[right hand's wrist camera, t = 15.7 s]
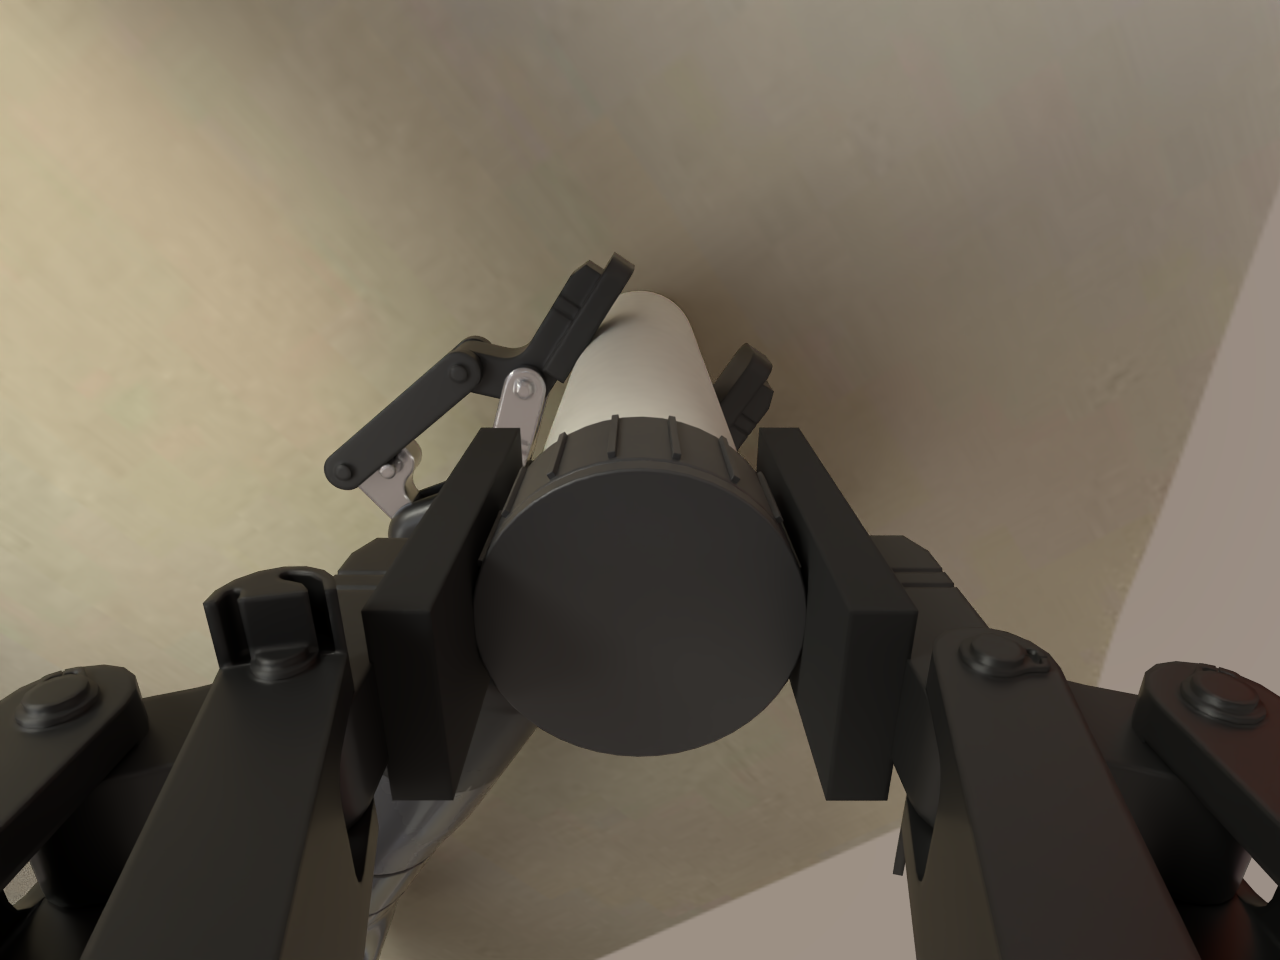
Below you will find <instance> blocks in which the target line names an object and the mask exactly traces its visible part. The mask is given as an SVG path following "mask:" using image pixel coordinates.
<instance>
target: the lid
mask: <svg viewBox="0 0 1280 960" xmlns="http://www.w3.org/2000/svg"><path fill="white" fill-rule="evenodd" d="M783 521H784V520H783V518H782V516H781V513H780V511H779V509H778V506H777V504H776V502H775V499H774V497H773V495H772V493H771V490H770V488H769V486H768V483H767V481H766V479H765V476H764V475H763V473H762V472H761V471H760V472H758V473H756V472H755V470H754V469H753V468H752V467H751V466H750V464H749V463H748V462H747V461H746V460H745V459H744V458H743V457H742V456H741V455H740V454H739V453H738V452H736V451H735V450H734V449H733V448H732V447H731V446H729V444H728V441H727V438H725V437H724V436H722V435H721V436H720V438H717V437H716V436H714V435H712V434H710V433H708V432H706V431H704V430H702V429H700V428H697V427H694V426H691V425H688V424H685V423H682V422H679V421H676V417H675V416H669V417H668V419H664V418H655V417H622V418H619V415H618V414H616V415H612V417H611V420H605V421H601V422H598V423H595V424H592V425H588V426H585V427H583V428H581V429H579V430H576V431H574V432H572V433H570V434H568V435H567V434H566V433H565V432H563V433H561V434H559V437H558V440H557V442H555V443H553V444H552V445H551V446H550V447H548V448H547V449H546V450H545V451H544V452H542V453H541V454H540V455H539V456H538V457H537V458H536V459H535V460H534V461H533V462H532V463H531V464H530V465H529V467H528V468H526V467H525V466H522V468H521V469H520V470H519V473H518V475H517V477H516V480H515V482H514V484H513V487H512V489H511V492H510V494H509V496H508V499H507V501H506V503H505V506H504V508H503V510H499V512H498V515H497V517H496V519H495V522H494V524H493V526H492V529H491V531H490V533H489V535H488V538H487V540H486V542H485V545H484V547H483V549H482V552H481V554H480V556H479V558H478V566H479V567H480V570H479V573H478V576H477V579H476V583H475V588H474V595H473V616H474V626H475V636H476V644H477V647H478V651H479V654H480V657H481V660H482V662H483V664H484V666H485V668H486V670H487V672H488V674H489V676H490V678H491V679H492V681H493V682H494V684H495V685H496V687H497V688H498V690H499V691H500V693H501V694H502V695H503V696H504V697H505V698H506V699H507V701H508V702H509V703H510V704H511V705H512V706H513V707H514V708H515V709H516V710H517V711H518V712H520V713H521V714H522V715H523V716H524V717H525V718H526V719H528V720H529V721H530V722H532V723H533V724H535V725H536V726H538V727H539V728H541V729H542V730H544V731H546V732H547V733H549V734H551V735H553V736H555V737H557V738H559V739H561V740H563V741H566V742H568V743H571V744H573V745H576V746H578V747H582V748H585V749H589V750H592V751H596V752H601V753H607V754H613V755H620V756H636V757H640V756H660V755H667V754H674V753H679V752H683V751H687V750H691V749H695V748H698V747H701V746H704V745H707V744H709V743H712V742H715V741H717V740H719V739H721V738H723V737H725V736H727V735H729V734H731V733H733V732H734V731H736V730H738V729H739V728H741V727H742V726H744V725H745V724H747V723H748V722H750V721H751V720H752V719H753V718H754V717H756V716H757V715H758V714H759V713H760V712H762V711H763V710H764V709H765V708H766V707H767V706H768V705H769V704H770V703H771V702H772V700H773V699H774V698H775V697H776V696H777V695H778V694H779V692H780V691H781V689H782V688H783V687H784V685H785V684H786V682H787V681H788V679H789V677H790V676H791V674H792V672H793V670H794V668H795V666H796V664H797V662H798V659H799V656H800V653H801V650H802V648H803V641H804V632H805V622H806V611H807V595H806V587H805V584H804V580H803V576H802V573H801V568H802V567H801V564H800V562H799V560H798V557H797V555H796V553H795V550H794V548H793V545H792V543H791V541H790V538H789V536H788V534H787V531H786V529H785V527H784V524H783Z"/></svg>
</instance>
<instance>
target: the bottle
mask: <svg viewBox="0 0 1280 960" xmlns="http://www.w3.org/2000/svg"><path fill="white" fill-rule="evenodd" d="M616 414H618V415H619V418H622V417H655V418H664V419H668V417H669V416H675V417H676V421H679V422H682V423H685V424H688V425H691V426H694V427H697V428H700V429H702V430H704V431H706V432H708V433H710V434H712V435H714V436H716V437H717V438H720V436H721V435H722V436H724V437H725V438H727V441H728V444H729V446H731V447H732V448H733V449H734V450H735V451H736V452H737V450H736V447H735V445H734V442H733V439H732V436H731V434H730V431H729V428H728V426H727V423H726V420H725V417H724V415H723V412H722V409H721V407H720V404H719V401H718V398H717V396H716V393H715V390H714V387H713V385H712V382H711V379H710V377H709V374H708V371H707V368H706V366H705V363H704V360H703V358H702V355H701V352H700V349H699V347H698V344H697V341H696V338H695V336H694V333H693V330H692V328H691V325H690V323H689V321H688V319H687V317H686V316H685V314H684V313H683V311H682V310H681V309H680V308H679V307H678V306H677V305H676V304H675V303H674V302H672V301H671V300H669V299H668V298H666V297H664V296H662V295H660V294H657V293H654V292H649V291H631V292H626V293H623V294H620V295H619V296H618V298H617V299H616V301H615V303H614V304H613V306H612V307H611V309H610V310H609V312H608V314H607V315H606V317H605V318H604V320H603V321H602V323H601V325H600V326H599V328H598V329H597V331H596V333H595V334H594V336H593V337H592V339H591V340H590V342H589V344H588V345H587V347H586V348H585V350H584V351H583V353H582V354H581V355H580V357H579V358H578V360H577V361H576V364H575V366H574V367H573V370H572V373H571V375H570V378H569V381H568V384H567V386H566V389H565V392H564V395H563V397H562V400H561V403H560V406H559V408H558V411H557V414H556V416H555V419H554V422H553V425H552V427H551V430H550V433H549V436H548V438H547V441H546V444H545V447H544V449H543V452H544V451H545V450H546V449H547V448H548V447H550V446H551V445H552V444H553V443H555V442H557V440H558V437H559V434H561V433H563V432H565V433H566V434H567V435H568V434H570V433H572V432H574V431H576V430H579V429H581V428H583V427H585V426H588V425H592V424H595V423H598V422H601V421H605V420H611V417H612V415H616Z"/></svg>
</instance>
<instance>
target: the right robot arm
mask: <svg viewBox="0 0 1280 960" xmlns="http://www.w3.org/2000/svg"><path fill="white" fill-rule="evenodd" d="M522 466H523V463H522V447H521V432H520V428H481V429H480V430H479V432H478V433H477V435H476V436H475V438H474V439H473V441H472V442H471V444H470V445H469V447H468V448H467V450H466V451H465V453H464V455H463V456H462V458H461V459H460V461H459V462H458V464H457V465H456V467H455V468H454V470H453V471H452V473H451V474H450V476H449V477H448V479H447V480H446V482H445V483H444V485H443V487H442V488H441V490H440V491H439V493H438V494H437V496H436V497H435V499H434V500H433V502H432V503H431V505H430V506H429V508H428V509H427V511H426V512H425V514H424V516H423V517H422V519H421V520H420V522H419V523H418V525H417V526H416V528H415V529H414V531H413V532H412V534H411V535H410V537H409V538H376V539H374V540H373V541H371V542H370V543H368V544H366V545H365V546H363V547H361V548H360V549H358V550H356V551H355V552H353V553H352V554H351V555H350V556H349V558H348V559H347V560H346V561H345V563H344V564H343V565H342V566H341V568H340V569H339V570H338V575H334V577H333V576H332V575H330V574H329V573H328V572H326V571H325V570H321V569H317V568H312V567H307V566H297V567H280V568H274V569H269V570H263V571H258V572H255V573H253V574H250V575H247V576H244V577H241V578H238V579H235V580H233V581H232V582H230V583H228V584H226V585H224V586H223V587H221V588H219V589H217V590H216V591H214V592H213V593H212V595H211V596H210V597H209V598H208V599H207V600H206V601H205V602H204V603H203V606H204V610H205V614H206V617H207V621H208V625H209V629H210V633H211V637H212V641H213V644H214V648H215V652H216V656H217V660H218V664H219V668H220V669H219V671H218V673H217V675H216V677H215V680H214V682H213V684H210V685H206V686H202V687H198V688H193V689H188V690H183V691H177V692H172V693H167V694H162V695H157V696H151V697H146V698H142V696H141V693H140V689H139V686H138V683H137V680H136V677H135V675H134V674H132V673H131V672H130V671H128V670H127V669H126V668H124V667H118V666H111V665H96V666H86V667H75V668H70V669H65V671H63V672H62V671H58V672H55V673H52V674H49V675H46V676H44V677H43V678H41V679H40V680H37V681H35V682H33V683H30V684H28V685H26V686H24V687H21V688H19V689H18V690H16V691H15V692H13V693H12V694H10V695H8V696H7V697H5V698H4V699H2V700H1V701H0V960H364V952H365V944H366V935H367V926H368V917H369V909H370V900H371V891H372V883H373V874H374V865H375V856H376V848H377V839H378V830H379V825H378V819H377V812H376V807H375V801H374V794H375V792H376V789H377V787H378V785H379V782H380V780H381V778H382V776H383V773H384V771H385V769H386V766H387V772H388V778H389V784H390V790H391V796H392V801H426V800H454V797H455V794H456V790H457V787H458V784H459V780H460V777H461V774H462V771H463V767H464V764H465V761H466V757H467V754H468V751H469V747H470V744H471V741H472V738H473V734H474V731H475V728H476V724H477V721H478V718H479V714H480V711H481V708H482V705H483V701H484V698H485V695H486V691H487V688H488V685H489V681H490V676H489V674H488V672H487V670H486V668H485V666H484V664H483V662H482V660H481V657H480V654H479V651H478V647H477V644H476V636H475V626H474V616H473V595H474V588H475V583H476V579H477V576H478V573H479V570H480V567H479V566H478V558H479V556H480V554H481V552H482V549H483V547H484V545H485V542H486V540H487V538H488V535H489V533H490V531H491V529H492V526H493V524H494V522H495V519H496V517H497V515H498V512H499V510H503V508H504V506H505V503H506V501H507V499H508V496H509V494H510V492H511V489H512V487H513V484H514V482H515V480H516V477H517V475H518V473H519V470H520V469H521V468H522ZM760 471H761V472H762V473H763V475H764V476H765V479H766V481H767V483H768V486H769V488H770V490H771V493H772V495H773V497H774V499H775V502H776V504H777V506H778V509H779V511H780V513H781V516H782V518H783V520H784V521H783V524H784V527H785V529H786V531H787V534H788V536H789V538H790V541H791V543H792V545H793V548H794V550H795V553H796V555H797V557H798V560H799V562H800V564H801V567H802V568H801V573H802V576H803V580H804V584H805V587H806V595H807V611H806V622H805V632H804V641H803V648H802V650H801V653H800V656H799V659H798V662H797V664H796V666H795V668H794V670H793V672H792V674H791V676H790V677H789V679H790V683H791V686H792V689H793V693H794V696H795V699H796V703H797V706H798V709H799V713H800V716H801V719H802V722H803V726H804V729H805V732H806V736H807V739H808V742H809V746H810V749H811V752H812V755H813V759H814V762H815V765H816V769H817V772H818V775H819V779H820V782H821V785H822V788H823V792H824V795H825V798H826V801H887V799H888V793H889V787H890V781H891V775H892V769H893V764H894V766H895V768H896V771H897V773H898V775H899V777H900V780H901V782H902V784H903V787H904V789H905V791H906V793H907V795H906V801H905V807H904V812H903V818H902V824H901V829H900V835H899V840H898V846H897V852H896V857H895V863H894V870H893V874H896V875H901V876H902V875H903V871H904V866H905V863H906V872H907V881H908V889H909V898H910V907H911V915H912V924H913V933H914V942H915V950H916V959H917V960H1280V697H1279V696H1278V695H1276V694H1275V693H1273V692H1271V691H1270V690H1268V689H1267V688H1265V687H1264V686H1262V685H1260V684H1258V683H1256V682H1254V681H1251V680H1249V679H1247V678H1244V677H1242V676H1240V675H1239V674H1237V673H1236V672H1233V671H1230V670H1227V669H1224V668H1221V667H1219V668H1216V666H1213V665H1208V664H1203V663H1189V662H1179V661H1175V662H1167V663H1160V664H1156V665H1154V666H1153V667H1152V668H1150V669H1149V670H1148V671H1146V672H1145V675H1144V678H1143V681H1142V685H1141V688H1140V691H1139V694H1138V695H1135V694H1130V693H1125V692H1119V691H1114V690H1109V689H1104V688H1099V687H1093V686H1088V685H1083V684H1079V683H1075V682H1071V681H1067V680H1066V678H1065V676H1064V674H1063V672H1062V670H1061V668H1060V667H1059V665H1058V664H1057V663H1056V662H1055V660H1054V659H1053V658H1052V657H1051V656H1050V654H1049V653H1047V652H1046V651H1044V650H1043V649H1041V648H1040V647H1038V646H1037V645H1035V644H1034V643H1032V642H1031V641H1028V640H1026V639H1023V638H1021V637H1018V636H1016V635H1014V634H1011V633H1009V632H1005V631H1000V630H995V629H991V628H989V627H988V626H987V625H986V623H985V622H984V621H983V620H982V618H981V617H980V616H979V615H978V613H977V612H976V611H975V610H974V608H973V607H972V606H971V604H970V603H969V602H968V601H967V599H966V598H965V597H964V596H963V594H962V593H961V592H960V591H959V589H958V588H957V587H954V583H953V582H952V580H951V579H950V578H949V577H948V575H947V574H946V573H945V572H942V568H941V566H940V565H939V564H938V563H937V561H936V560H935V559H934V558H933V556H932V555H931V554H930V553H929V551H928V550H926V549H924V548H923V547H921V546H919V545H918V544H916V543H914V542H913V541H911V540H909V539H908V538H906V537H904V536H869V535H868V533H867V531H866V530H865V528H864V527H863V525H862V524H861V522H860V521H859V519H858V518H857V516H856V515H855V513H854V512H853V510H852V509H851V507H850V506H849V504H848V502H847V501H846V499H845V498H844V496H843V495H842V493H841V492H840V490H839V489H838V487H837V486H836V484H835V483H834V481H833V480H832V478H831V477H830V475H829V473H828V472H827V470H826V469H825V467H824V466H823V464H822V463H821V461H820V460H819V458H818V457H817V455H816V454H815V452H814V451H813V449H812V448H811V446H810V445H809V443H808V441H807V440H806V438H805V437H804V435H803V434H802V432H801V431H800V429H799V428H759V441H758V456H757V472H756V473H758V472H760ZM1251 858H1253V859H1254V860H1255V861H1256V862H1257V863H1258V864H1259V865H1260V866H1261V868H1262V869H1263V870H1264V871H1265V872H1266V873H1267V874H1268V875H1269V876H1270V877H1271V878H1272V879H1273V881H1274V882H1275V883H1276V884H1277V885H1278V887H1277V889H1276V891H1275V894H1274V896H1273V898H1272V900H1271V901H1270V902H1269V903H1267V902H1266V901H1264V900H1263V899H1262V898H1261V897H1260V896H1259V895H1258V894H1257V893H1255V891H1254V890H1253V889H1252V888H1251V887H1250V886H1249V885H1248V883H1247V882H1246V881H1245V880H1244V879H1243V877H1244V874H1245V872H1246V869H1247V867H1248V865H1249V862H1250V860H1251ZM28 862H30V864H31V866H32V869H33V871H34V873H35V876H36V878H37V880H38V882H37V883H36V884H35V885H34V886H33V887H32V888H31V890H30V891H29V892H28V893H27V894H26V895H25V896H24V897H23V898H22V899H20V900H19V901H18V902H17V903H16V904H14V905H11V904H10V903H9V902H8V899H7V897H6V895H5V893H4V891H3V889H4V888H5V887H6V886H7V885H8V884H9V882H10V881H11V880H12V879H13V878H14V877H15V876H16V875H17V874H18V873H19V871H20V870H21V869H22V868H23V867H24V866H25V865H26V864H27V863H28Z"/></svg>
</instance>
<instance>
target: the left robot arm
mask: <svg viewBox="0 0 1280 960" xmlns="http://www.w3.org/2000/svg"><path fill="white" fill-rule="evenodd" d="M633 271H634V265H633V264H632V263H630V262H629V261H627V260H626V259H624V258H623V257H621V256H620V255H618V254H617V253H616V252H614V254H613V255H612V257H611V259H610V260H609V262H608V263H607V265H606V267H605V268H604V269H602V268H601V267H599V266H598V265H596V264H595V263H593V262H592V261H591V260H589V261H587V262H586V263H584V264H583V265H582V266H580V267H579V268H578V269H576V270H575V271H574V272H573V274H572V275H571V276H570V278H569V279H568V281H567V283H566V284H565V286H564V288H563V289H562V291H561V293H560V294H559V296H558V298H557V299H556V301H555V303H554V304H553V306H552V308H551V309H550V311H549V312H548V314H547V316H546V317H545V319H544V321H543V322H542V324H541V326H540V327H539V329H538V331H537V332H536V334H535V336H534V337H533V339H532V341H531V342H530V343H528V344H527V345H525V346H523V347H520V348H506V347H502V346H498V345H494V344H491V343H490V342H489V341H488V340H487V339H485V338H483V337H480V336H470V337H467V338H466V339H464V340H463V341H462V342H461V343H459V344H458V345H457V346H456V347H455V348H454V349H453V350H451V351H450V352H449V353H448V354H447V355H446V356H444V357H443V358H442V359H441V360H440V361H439V362H438V363H436V364H435V365H434V366H433V367H432V368H431V369H430V370H428V371H427V372H426V373H425V374H424V375H423V376H421V377H420V378H419V379H418V380H417V381H416V382H415V383H413V384H412V385H411V386H410V387H409V388H408V389H407V390H405V391H404V392H403V393H402V394H401V395H400V396H398V397H397V398H396V399H395V400H394V401H393V402H392V403H390V404H389V405H388V406H387V407H386V408H385V409H384V410H382V411H381V412H380V413H379V414H378V415H377V416H375V417H374V418H373V419H372V420H371V421H370V422H369V423H367V424H366V425H365V426H364V427H363V428H362V429H361V430H359V431H358V432H357V433H356V434H355V435H354V436H352V437H351V438H350V439H349V440H348V441H347V442H346V443H344V444H343V445H342V446H341V447H340V448H339V449H338V450H336V451H335V452H334V453H333V454H332V455H331V456H330V457H329V458H328V459H327V460H326V462H325V465H324V472H325V475H326V478H327V479H328V481H329V482H330V483H331V484H332V485H334V486H335V487H337V488H339V489H343V490H352V489H355V488H357V487H359V488H360V489H361V490H362V491H363V492H364V493H365V494H366V495H367V496H368V497H369V498H370V499H371V500H372V501H373V502H374V503H375V504H376V505H378V506H379V507H380V508H381V509H382V510H383V511H384V512H385V513H386V514H387V515H388V516H389V517H390V518H391V519H392V520H391V522H390V525H389V530H388V537H389V538H409V537H410V535H411V534H412V532H413V531H414V529H415V528H416V526H417V525H418V523H419V522H420V520H421V519H422V517H423V516H424V514H425V512H426V511H427V509H428V508H429V506H430V505H431V503H432V502H433V500H434V499H435V497H436V496H437V494H438V493H439V491H440V490H441V488H442V487H443V485H444V483H445V482H446V481H444V482H442V483H439V484H436V485H433V486H431V487H428V488H425V489H422V490H420V491H418V489H417V488H416V487H415V485H414V482H413V473H414V470H415V469H416V468H417V466H418V465H419V464H420V462H421V459H422V451H421V448H420V446H419V444H418V443H417V442H416V441H415V440H414V439H416V438H417V437H418V436H419V435H420V434H421V433H423V432H424V431H425V430H426V429H427V428H429V427H430V426H431V425H432V424H433V423H434V422H436V421H437V420H438V419H439V418H440V417H442V416H443V415H444V414H445V413H446V412H448V411H449V410H450V409H451V408H452V407H453V406H455V405H456V404H457V403H458V402H459V401H461V400H462V399H463V398H464V397H465V396H466V395H468V394H469V393H470V392H472V393H477V394H481V395H485V396H490V397H494V398H499V399H500V402H499V406H498V410H497V414H496V418H495V422H494V426H493V428H520V432H521V447H522V463H523V466H525V467H526V468H528V467H529V465H530V464H531V463H532V462H533V461H532V457H533V453H534V449H535V446H536V442H537V438H538V435H539V431H540V427H541V421H542V418H543V414H544V410H545V407H546V403H547V399H548V396H549V392H550V390H551V389H552V387H553V386H554V384H555V383H556V381H557V380H558V381H560V382H561V383H564V381H565V380H566V378H567V377H568V375H569V373H570V372H571V370H572V369H573V367H574V366H575V364H576V361H577V360H578V358H579V357H580V355H581V354H582V353H583V351H584V350H585V348H586V347H587V345H588V344H589V342H590V340H591V339H592V337H593V336H594V334H595V333H596V331H597V329H598V328H599V326H600V325H601V323H602V321H603V320H604V318H605V317H606V315H607V314H608V312H609V310H610V309H611V307H612V306H613V304H614V303H615V301H616V299H617V298H618V296H619V295H620V293H621V292H622V290H623V288H624V287H625V285H626V284H627V282H628V280H629V279H630V277H631V275H632V273H633ZM771 370H772V364H771V363H770V361H769V360H768V359H767V357H766V356H765V355H764V354H762V353H761V352H759V351H758V350H756V349H755V348H753V347H752V346H750V345H749V344H748V343H745V344H744V345H743V346H742V347H741V348H740V349H739V350H738V351H737V352H736V354H735V355H734V357H733V358H732V359H731V361H730V362H729V364H728V365H727V366H726V368H725V369H724V371H723V372H722V373H721V375H720V376H719V378H718V379H717V380H716V382H715V383H714V384H713V387H714V390H715V393H716V396H717V398H718V401H719V404H720V407H721V409H722V412H723V415H724V417H725V420H726V423H727V426H728V428H729V431H730V434H731V436H732V439H733V442H734V445H735V447H736V450H738V449H739V448H740V446H741V445H742V444H743V442H744V441H745V440H746V438H747V437H748V435H749V434H750V433H751V432H752V430H753V429H754V428H755V426H756V424H757V423H758V422H759V421H760V420H761V418H762V417H763V416H764V415H765V413H766V412H767V411H768V409H769V406H770V403H771V399H772V396H773V392H774V391H773V390H772V388H771V387H770V385H769V384H768V382H767V381H766V380H767V378H768V376H769V375H770V373H771ZM537 727H538V726H536V725H535V724H533V723H532V722H530V721H529V720H528V719H526V718H525V717H524V716H523V715H522V714H521V713H520V712H518V711H517V710H516V709H515V708H514V707H513V706H512V705H511V704H510V703H509V702H508V701H507V699H506V698H505V697H504V696H503V695H502V694H501V693H500V691H499V690H498V688H497V687H496V685H495V684H494V682H493V681H492V679H491V678H490V681H489V685H488V688H487V691H486V695H485V698H484V701H483V705H482V708H481V711H480V714H479V718H478V721H477V724H476V728H475V731H474V734H473V738H472V741H471V744H470V747H469V751H468V754H467V757H466V761H465V764H464V767H463V771H462V774H461V777H460V780H459V784H458V787H457V790H456V794H455V797H454V800H426V801H392V796H391V790H390V784H389V778H388V772H387V766H386V769H385V771H384V773H383V776H382V778H381V780H380V782H379V785H378V787H377V789H376V792H375V794H374V801H375V807H376V812H377V819H378V825H379V830H378V839H377V848H376V856H375V865H374V874H373V883H372V891H371V900H370V909H369V917H368V926H367V935H366V944H365V952H364V960H379V958H380V954H381V951H382V948H383V945H384V942H385V939H386V936H387V933H388V930H389V927H390V924H391V921H392V918H393V915H394V911H395V908H396V905H397V902H398V900H399V897H400V896H401V895H402V894H403V893H404V891H405V890H406V889H407V887H408V886H409V885H410V883H411V882H412V881H413V879H414V878H415V877H416V875H417V874H418V873H419V871H420V870H421V869H422V867H423V866H424V865H425V863H426V862H427V861H428V860H429V858H430V857H431V856H432V854H433V853H434V852H435V850H436V849H437V848H438V846H439V845H440V844H441V843H442V842H443V841H444V840H445V839H446V838H447V837H448V836H450V835H451V834H452V833H453V832H454V831H455V830H456V829H457V828H458V827H459V826H460V825H461V824H462V823H463V822H464V821H465V820H466V819H467V818H468V817H469V816H470V814H471V813H472V812H473V811H474V810H475V808H476V807H477V806H478V805H479V803H480V802H481V801H482V799H483V798H484V797H485V795H486V794H487V793H488V791H489V790H490V789H491V787H492V786H493V785H494V783H495V782H496V781H497V780H498V778H499V777H500V776H501V774H502V773H503V772H504V770H505V769H506V768H507V766H508V765H509V764H510V762H511V761H512V760H513V758H514V757H515V756H516V755H517V753H518V752H519V751H520V749H521V748H522V746H523V745H524V744H525V743H526V741H527V740H528V739H529V737H530V736H531V735H532V733H533V732H534V731H535V729H536V728H537Z"/></svg>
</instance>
